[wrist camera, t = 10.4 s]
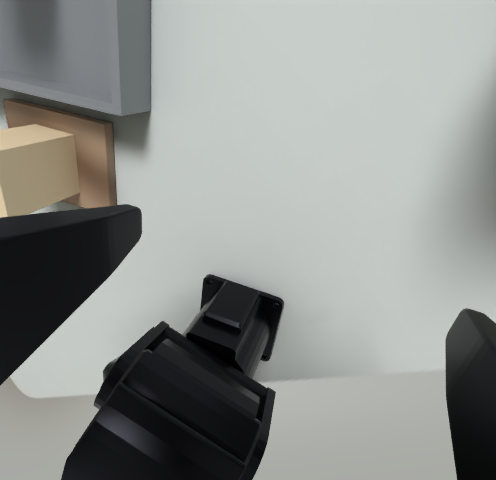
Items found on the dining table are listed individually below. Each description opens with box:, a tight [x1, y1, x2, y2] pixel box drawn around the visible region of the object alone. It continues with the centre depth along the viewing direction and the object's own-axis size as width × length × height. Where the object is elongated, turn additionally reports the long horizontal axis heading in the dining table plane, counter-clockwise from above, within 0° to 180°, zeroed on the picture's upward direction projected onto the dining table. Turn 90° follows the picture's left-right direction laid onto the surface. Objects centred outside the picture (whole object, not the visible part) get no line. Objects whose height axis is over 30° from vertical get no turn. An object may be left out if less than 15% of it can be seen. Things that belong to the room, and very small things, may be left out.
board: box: [3, 98, 117, 209], centre depth 26 cm, size 7×9×1 cm
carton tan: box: [0, 124, 80, 218], centre depth 23 cm, size 4×4×6 cm
